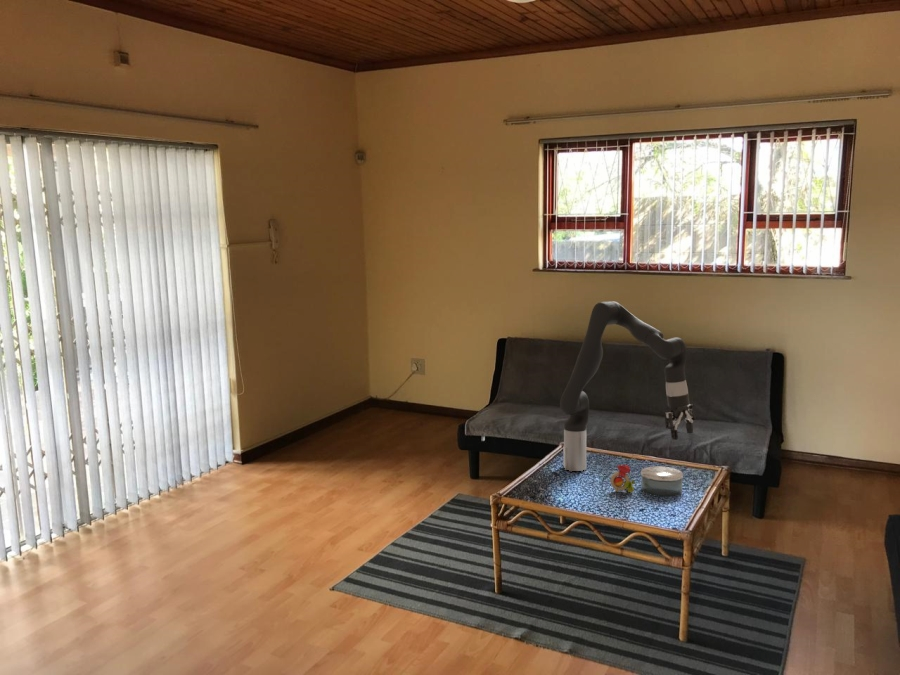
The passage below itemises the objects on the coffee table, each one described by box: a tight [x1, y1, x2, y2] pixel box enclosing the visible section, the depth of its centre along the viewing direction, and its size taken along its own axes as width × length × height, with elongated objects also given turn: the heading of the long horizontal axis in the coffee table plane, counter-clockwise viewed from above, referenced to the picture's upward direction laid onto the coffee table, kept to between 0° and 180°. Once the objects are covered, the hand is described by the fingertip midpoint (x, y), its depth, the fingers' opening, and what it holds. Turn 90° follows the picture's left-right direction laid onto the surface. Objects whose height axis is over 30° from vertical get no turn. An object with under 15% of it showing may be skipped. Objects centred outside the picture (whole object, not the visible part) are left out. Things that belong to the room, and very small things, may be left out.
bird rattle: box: [609, 464, 636, 493], centre depth 275 cm, size 6×11×9 cm
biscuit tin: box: [640, 465, 684, 498], centre depth 276 cm, size 15×15×7 cm
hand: (682, 436), depth 263 cm, fingers open, 8 cm apart
